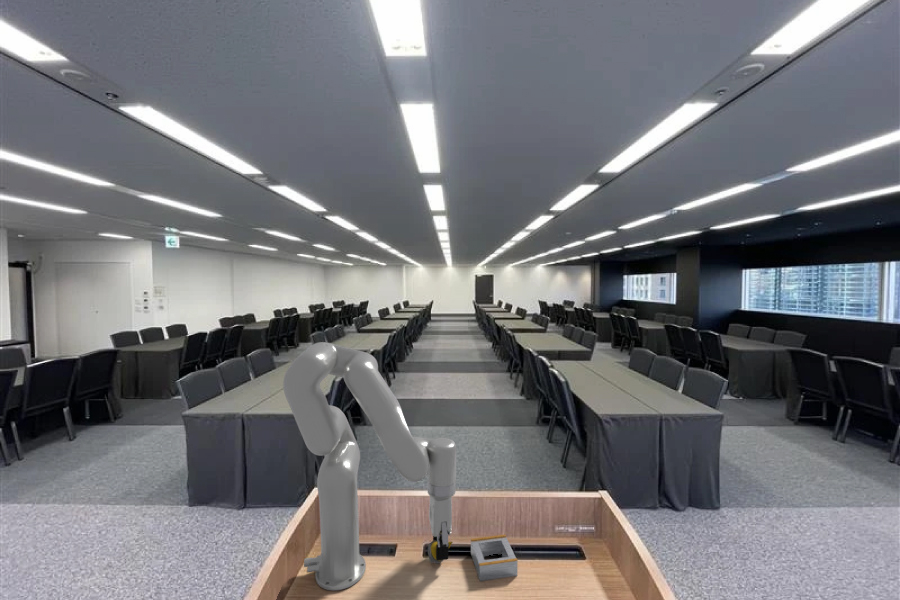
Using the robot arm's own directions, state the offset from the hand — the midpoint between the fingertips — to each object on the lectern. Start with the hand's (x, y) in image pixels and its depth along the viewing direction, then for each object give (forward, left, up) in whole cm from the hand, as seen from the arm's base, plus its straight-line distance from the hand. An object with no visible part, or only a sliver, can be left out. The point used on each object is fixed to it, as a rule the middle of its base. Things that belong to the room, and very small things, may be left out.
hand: (440, 550), depth 105 cm
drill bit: (0, 0, -3) cm, 3 cm away
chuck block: (+14, -4, -3) cm, 15 cm away
